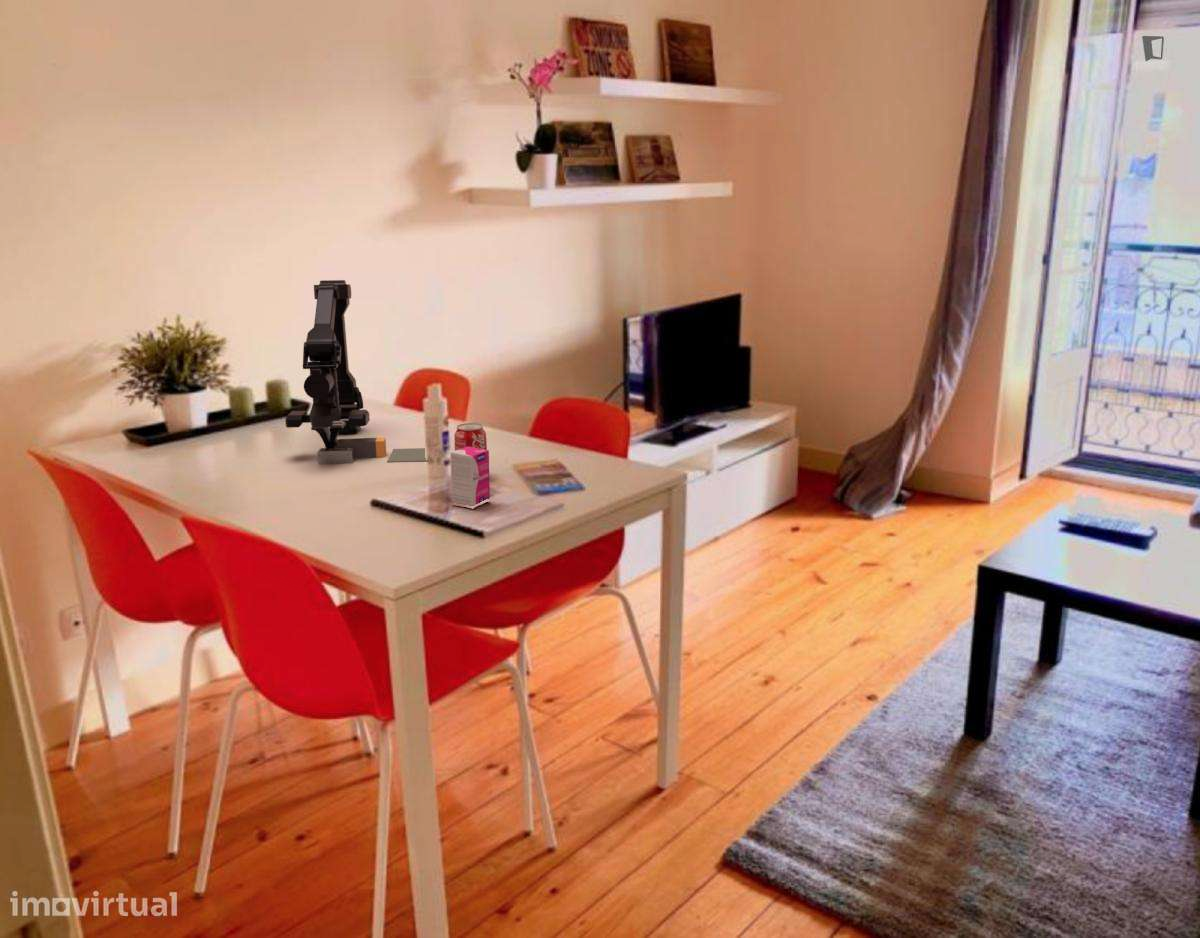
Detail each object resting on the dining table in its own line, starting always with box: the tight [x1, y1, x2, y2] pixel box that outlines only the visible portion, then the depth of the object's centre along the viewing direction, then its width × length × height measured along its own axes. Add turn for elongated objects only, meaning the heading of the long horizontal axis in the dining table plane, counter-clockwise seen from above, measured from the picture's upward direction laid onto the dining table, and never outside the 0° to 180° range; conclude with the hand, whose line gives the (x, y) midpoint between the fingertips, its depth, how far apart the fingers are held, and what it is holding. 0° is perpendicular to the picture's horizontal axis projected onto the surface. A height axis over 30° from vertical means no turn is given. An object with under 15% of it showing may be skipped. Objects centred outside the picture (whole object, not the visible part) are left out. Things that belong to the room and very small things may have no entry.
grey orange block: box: [337, 436, 387, 459], centre depth 233 cm, size 4×11×4 cm, turn 97°
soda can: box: [454, 422, 488, 451], centre depth 214 cm, size 7×7×12 cm
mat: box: [386, 447, 427, 463], centre depth 234 cm, size 11×11×1 cm
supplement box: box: [450, 446, 491, 506], centre depth 197 cm, size 6×6×12 cm
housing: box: [316, 438, 356, 465], centre depth 232 cm, size 11×8×3 cm
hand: (331, 453), depth 232 cm, fingers closed
